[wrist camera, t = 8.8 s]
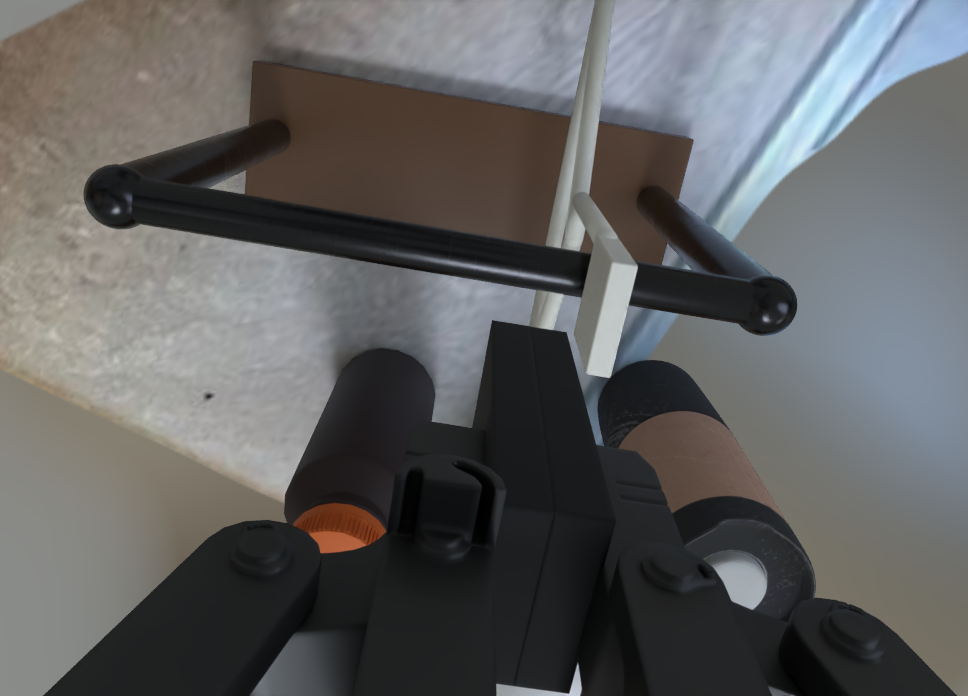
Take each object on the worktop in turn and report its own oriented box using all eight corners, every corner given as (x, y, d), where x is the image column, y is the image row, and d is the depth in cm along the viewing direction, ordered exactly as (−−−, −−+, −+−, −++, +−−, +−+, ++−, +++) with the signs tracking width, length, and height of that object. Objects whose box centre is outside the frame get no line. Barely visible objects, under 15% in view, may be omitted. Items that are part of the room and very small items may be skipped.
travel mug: (639, 475, 56) (715, 689, 37) (570, 403, 54) (613, 591, 35) (726, 410, 54) (853, 601, 35) (658, 333, 52) (754, 492, 33)
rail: (259, 60, 46) (55, 68, 24) (688, 137, 47) (854, 208, 26) (251, 194, 49) (61, 308, 27) (655, 263, 50) (781, 423, 28)
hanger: (601, -38, 36) (700, -117, 19) (618, -35, 36) (732, -111, 19) (512, 406, 44) (526, 626, 27) (526, 408, 44) (548, 629, 27)
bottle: (327, 421, 54) (242, 616, 36) (349, 334, 52) (270, 494, 33) (421, 447, 55) (385, 651, 36) (447, 361, 53) (423, 533, 34)
